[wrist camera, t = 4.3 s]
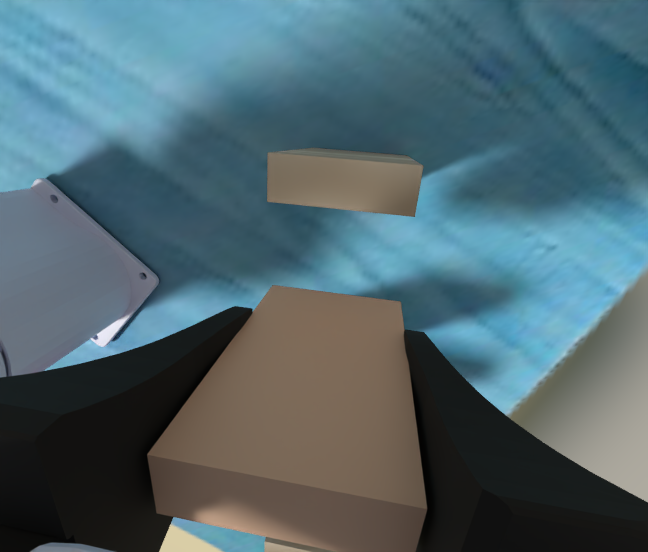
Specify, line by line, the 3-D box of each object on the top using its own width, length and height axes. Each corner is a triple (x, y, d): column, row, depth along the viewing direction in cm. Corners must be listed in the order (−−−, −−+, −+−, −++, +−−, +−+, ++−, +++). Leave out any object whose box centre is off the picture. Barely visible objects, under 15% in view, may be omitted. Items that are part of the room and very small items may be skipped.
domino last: (312, 147, 19) (267, 152, 11) (406, 155, 18) (423, 165, 11) (310, 178, 19) (267, 201, 12) (401, 186, 19) (414, 216, 11)
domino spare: (272, 285, 14) (147, 454, 6) (400, 301, 13) (427, 508, 6) (272, 320, 14) (157, 513, 7) (394, 337, 14) (411, 567, 6)
